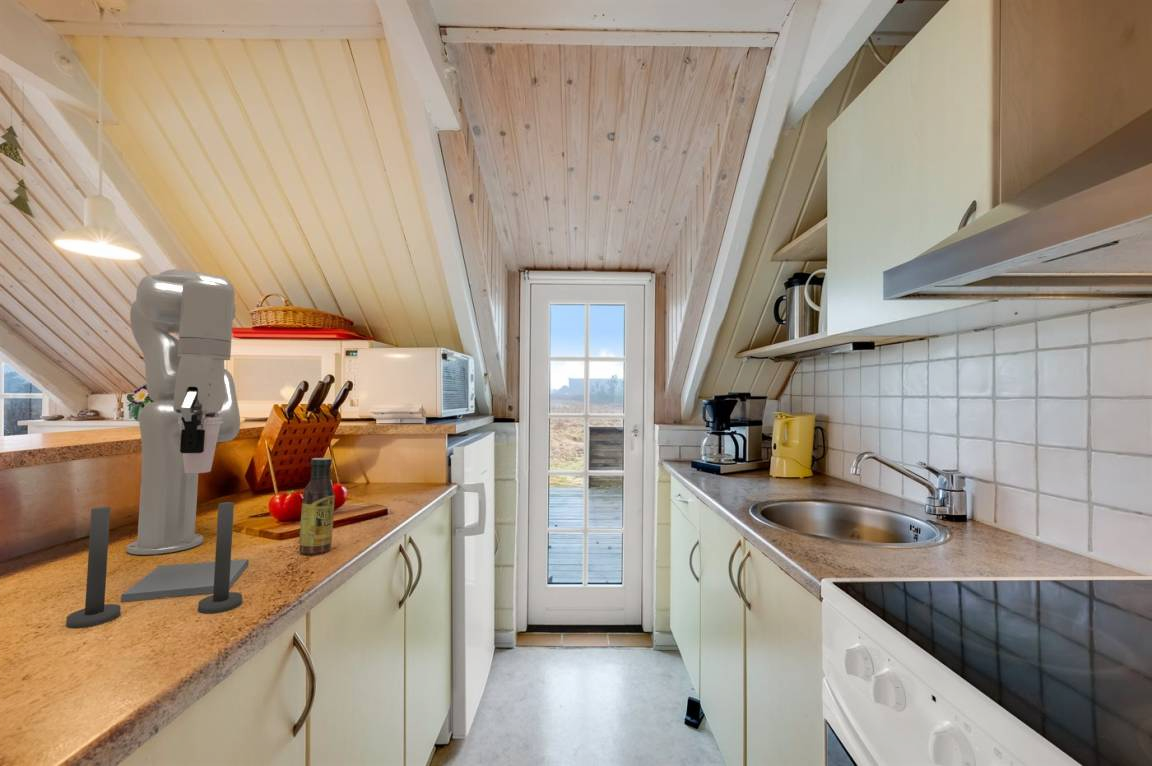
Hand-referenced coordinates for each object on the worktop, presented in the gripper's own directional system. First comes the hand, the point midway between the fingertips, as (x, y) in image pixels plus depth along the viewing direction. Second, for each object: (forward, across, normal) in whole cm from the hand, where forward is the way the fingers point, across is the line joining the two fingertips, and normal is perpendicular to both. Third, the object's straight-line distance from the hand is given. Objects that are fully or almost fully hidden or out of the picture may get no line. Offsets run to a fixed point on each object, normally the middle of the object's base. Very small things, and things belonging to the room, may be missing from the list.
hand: (199, 449), depth 86 cm
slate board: (+23, 0, 0) cm, 23 cm away
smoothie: (+4, 0, 0) cm, 4 cm away
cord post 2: (+23, +13, +8) cm, 28 cm away
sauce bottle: (+23, -13, +18) cm, 32 cm away
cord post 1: (+23, +13, -8) cm, 28 cm away
